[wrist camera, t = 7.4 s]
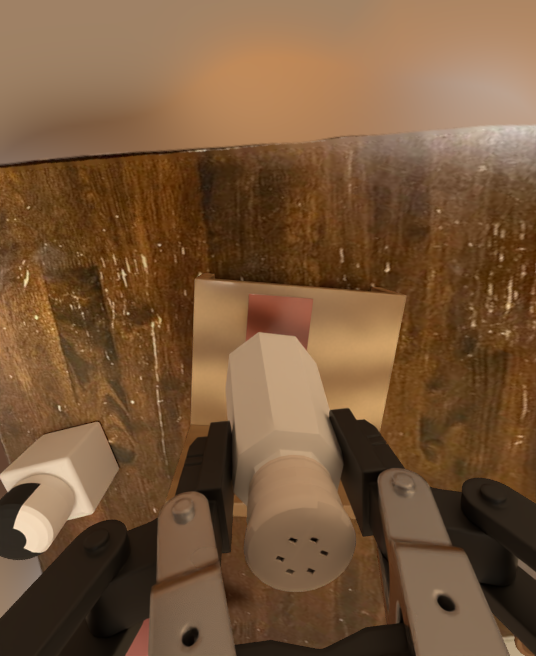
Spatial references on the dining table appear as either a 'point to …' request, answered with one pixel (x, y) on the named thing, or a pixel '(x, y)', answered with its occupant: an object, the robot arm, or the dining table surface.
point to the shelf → (312, 332)
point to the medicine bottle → (53, 488)
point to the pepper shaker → (286, 465)
